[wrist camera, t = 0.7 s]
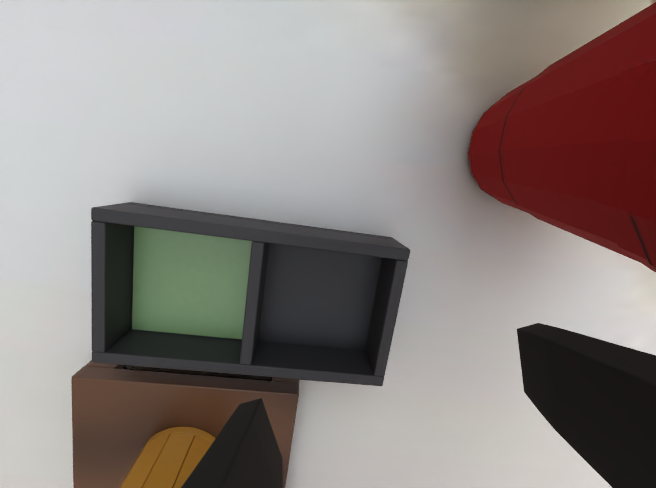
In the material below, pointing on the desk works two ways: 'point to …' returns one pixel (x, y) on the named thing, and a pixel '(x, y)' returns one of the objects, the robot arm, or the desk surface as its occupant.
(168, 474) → the cup
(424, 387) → the desk surface
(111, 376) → the brown flat block
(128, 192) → the desk surface
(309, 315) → the tray
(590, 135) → the plastic cup
